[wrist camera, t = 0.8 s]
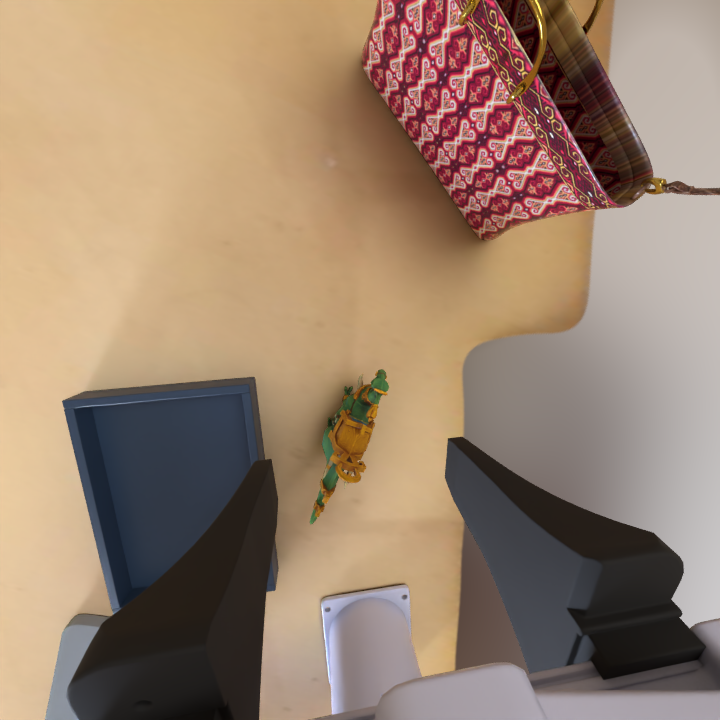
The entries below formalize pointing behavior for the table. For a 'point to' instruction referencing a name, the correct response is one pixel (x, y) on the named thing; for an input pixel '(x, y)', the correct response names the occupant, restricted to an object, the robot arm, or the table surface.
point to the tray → (161, 471)
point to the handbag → (509, 108)
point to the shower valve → (70, 662)
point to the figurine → (349, 437)
